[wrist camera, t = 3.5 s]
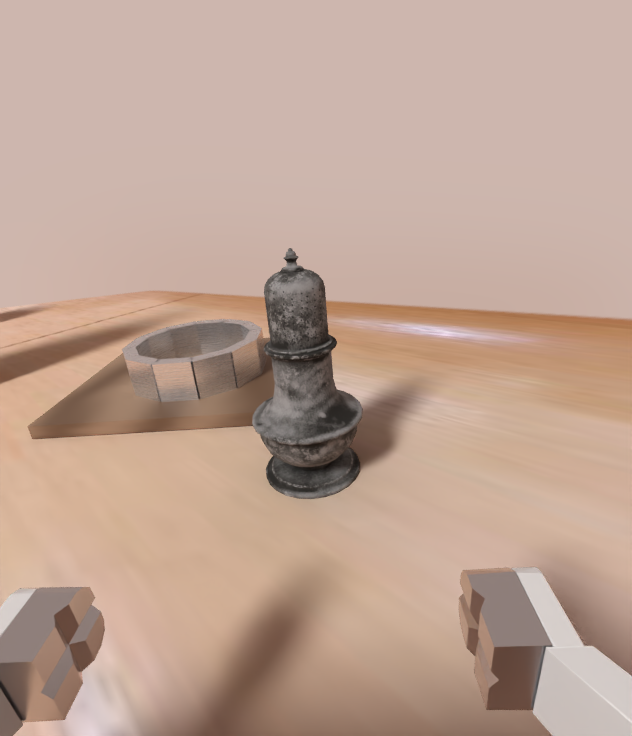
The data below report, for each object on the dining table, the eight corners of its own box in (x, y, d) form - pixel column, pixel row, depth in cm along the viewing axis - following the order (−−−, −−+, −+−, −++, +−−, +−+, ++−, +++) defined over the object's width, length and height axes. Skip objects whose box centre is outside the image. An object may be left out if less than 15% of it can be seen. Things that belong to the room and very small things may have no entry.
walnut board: (318, 343, 42) (318, 334, 42) (315, 421, 28) (313, 408, 27) (132, 356, 44) (129, 347, 43) (32, 438, 29) (27, 426, 28)
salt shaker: (267, 441, 26) (238, 246, 21) (360, 435, 26) (350, 236, 21) (253, 506, 21) (209, 263, 16) (370, 499, 20) (360, 250, 16)
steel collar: (271, 345, 40) (268, 315, 39) (253, 396, 30) (247, 357, 29) (162, 353, 41) (155, 324, 39) (107, 405, 30) (96, 368, 29)
